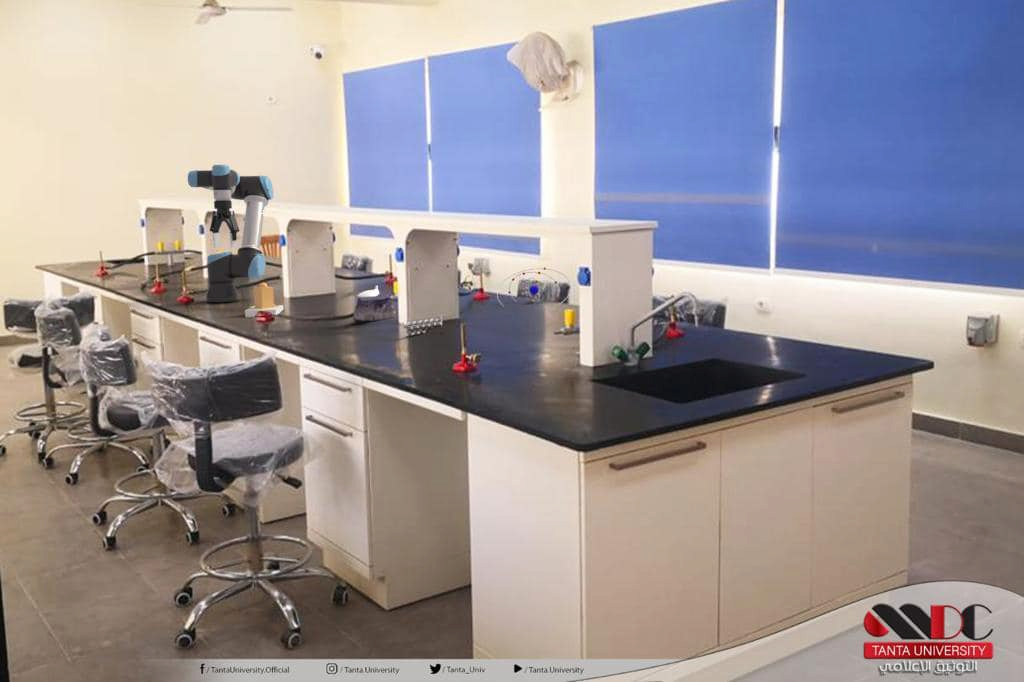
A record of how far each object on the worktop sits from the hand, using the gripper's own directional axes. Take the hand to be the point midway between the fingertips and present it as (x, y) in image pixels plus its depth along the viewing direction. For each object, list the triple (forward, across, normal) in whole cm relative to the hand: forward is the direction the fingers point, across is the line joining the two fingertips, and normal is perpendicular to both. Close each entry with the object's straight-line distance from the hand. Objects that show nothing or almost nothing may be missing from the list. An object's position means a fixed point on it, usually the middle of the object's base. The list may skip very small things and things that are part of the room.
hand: (225, 247), depth 446 cm
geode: (+29, +82, +16) cm, 88 cm away
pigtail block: (+29, +25, +2) cm, 38 cm away
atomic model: (+28, +103, +73) cm, 129 cm away
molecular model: (+31, +122, +9) cm, 126 cm away
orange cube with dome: (+26, +25, +2) cm, 36 cm away
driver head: (+27, +25, +67) cm, 76 cm away
